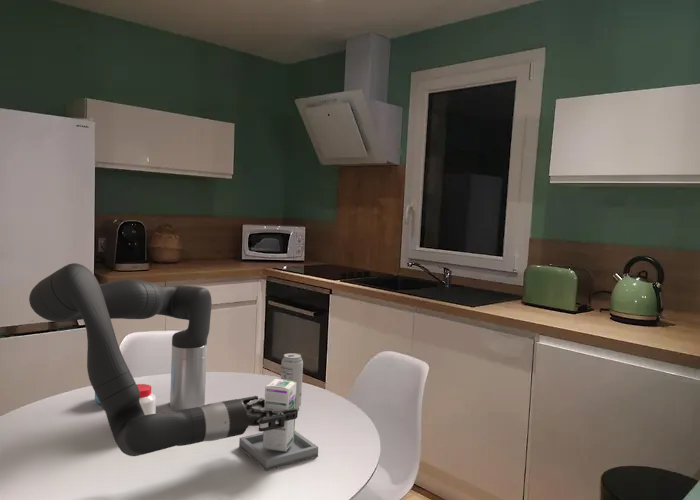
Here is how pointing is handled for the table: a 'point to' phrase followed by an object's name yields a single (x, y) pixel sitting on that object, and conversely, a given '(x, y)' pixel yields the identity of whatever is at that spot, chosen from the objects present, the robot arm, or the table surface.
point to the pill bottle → (147, 399)
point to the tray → (275, 458)
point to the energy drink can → (293, 373)
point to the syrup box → (280, 399)
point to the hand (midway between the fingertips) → (287, 407)
